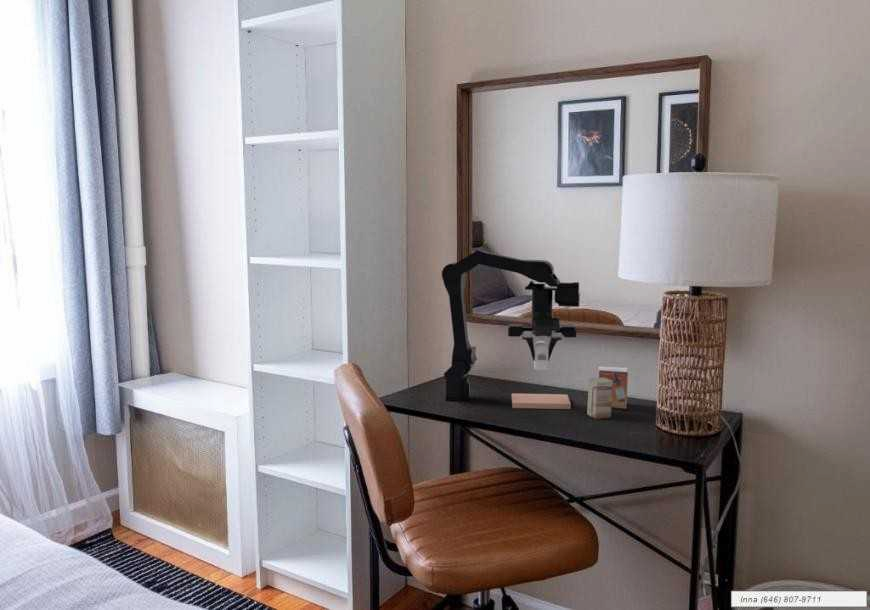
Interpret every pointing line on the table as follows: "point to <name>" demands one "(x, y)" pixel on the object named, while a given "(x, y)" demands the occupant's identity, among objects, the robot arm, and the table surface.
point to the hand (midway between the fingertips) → (540, 360)
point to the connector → (541, 356)
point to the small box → (616, 384)
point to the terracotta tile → (541, 401)
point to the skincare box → (599, 397)
